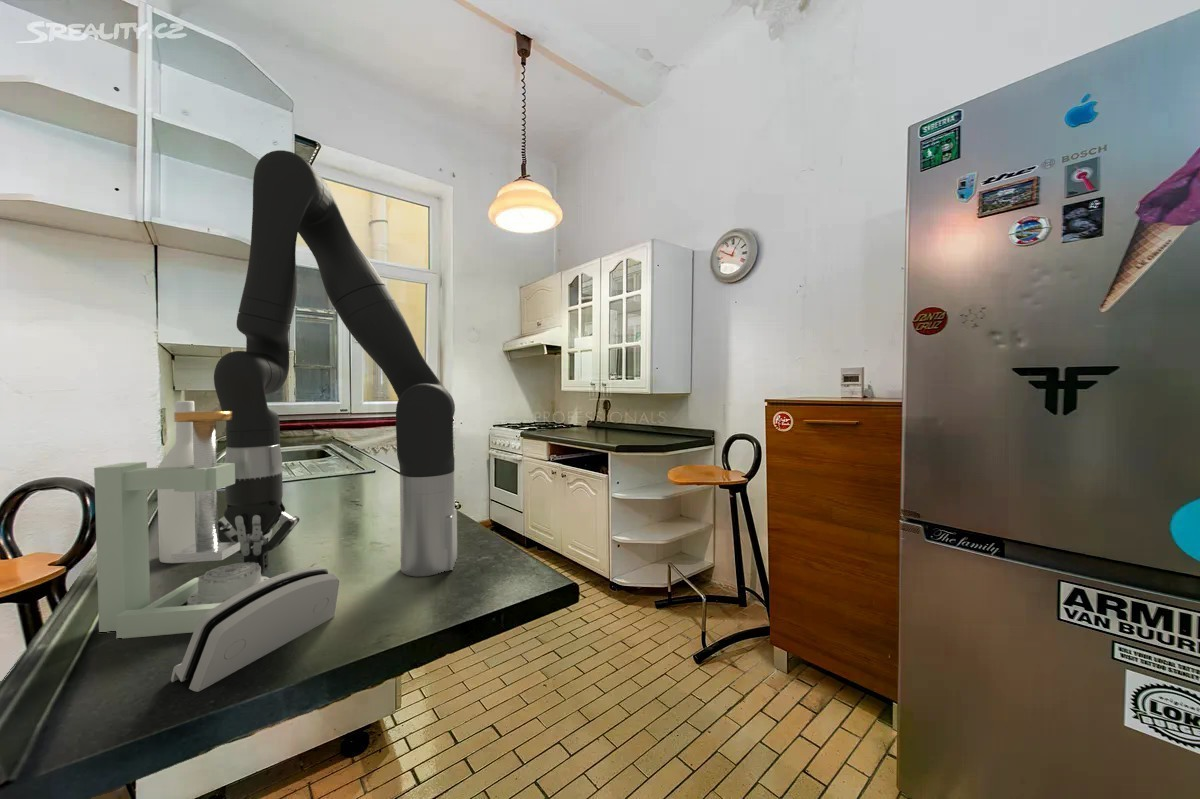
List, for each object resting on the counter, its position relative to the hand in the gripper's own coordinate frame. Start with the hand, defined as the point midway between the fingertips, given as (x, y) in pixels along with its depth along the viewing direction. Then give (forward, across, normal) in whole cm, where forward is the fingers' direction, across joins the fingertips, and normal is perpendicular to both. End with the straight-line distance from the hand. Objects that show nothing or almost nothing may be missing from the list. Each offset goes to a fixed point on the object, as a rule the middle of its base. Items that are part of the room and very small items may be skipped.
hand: (256, 575), depth 73 cm
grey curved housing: (+2, -13, +21) cm, 25 cm away
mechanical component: (+2, +1, +5) cm, 5 cm away
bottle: (+1, +20, -15) cm, 25 cm away
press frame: (+1, +2, +9) cm, 9 cm away
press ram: (-8, 0, +11) cm, 14 cm away
